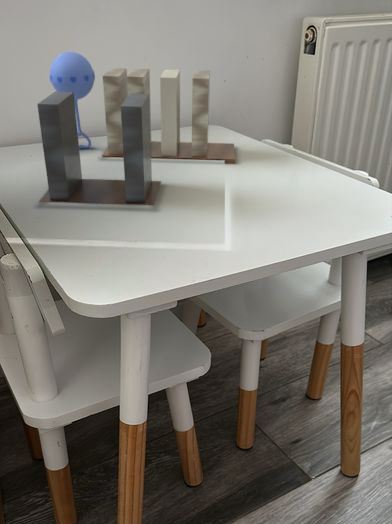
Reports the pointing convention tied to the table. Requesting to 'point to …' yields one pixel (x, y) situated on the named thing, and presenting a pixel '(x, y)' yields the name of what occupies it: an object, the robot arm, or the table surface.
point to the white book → (170, 112)
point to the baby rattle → (73, 80)
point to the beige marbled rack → (139, 83)
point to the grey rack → (68, 157)
